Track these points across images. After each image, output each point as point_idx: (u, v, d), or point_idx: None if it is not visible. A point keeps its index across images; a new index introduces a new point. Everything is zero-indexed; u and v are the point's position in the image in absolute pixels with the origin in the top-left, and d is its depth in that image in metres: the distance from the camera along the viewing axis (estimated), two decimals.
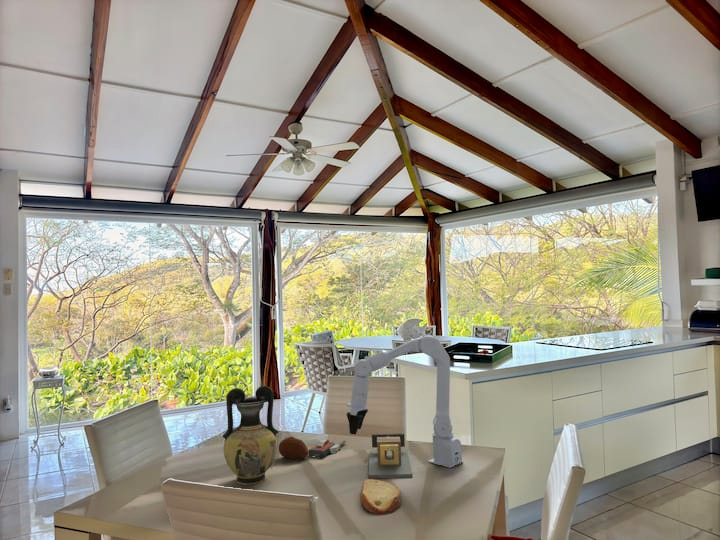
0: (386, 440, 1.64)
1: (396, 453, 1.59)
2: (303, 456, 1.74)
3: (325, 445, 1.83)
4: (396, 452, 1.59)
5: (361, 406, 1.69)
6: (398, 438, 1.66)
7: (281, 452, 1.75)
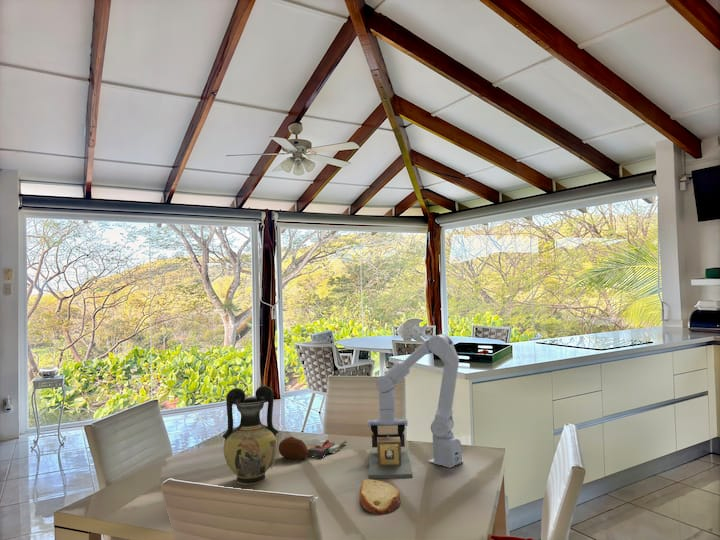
0: (386, 440, 1.64)
1: (396, 453, 1.59)
2: (303, 456, 1.74)
3: (324, 445, 1.83)
4: (396, 452, 1.59)
5: (381, 420, 1.74)
6: (398, 438, 1.66)
7: (281, 452, 1.75)
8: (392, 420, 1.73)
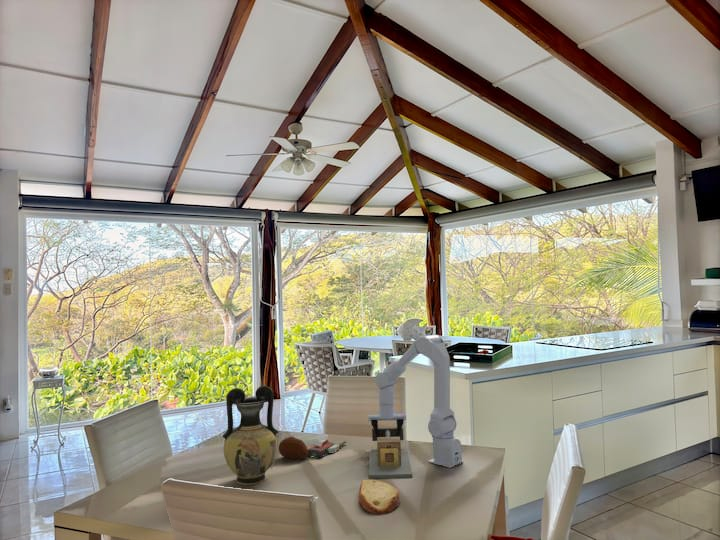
0: (386, 440, 1.64)
1: (396, 456, 1.61)
2: (303, 456, 1.74)
3: (324, 445, 1.83)
4: (396, 455, 1.61)
5: (380, 415, 1.82)
6: (398, 438, 1.66)
7: (281, 452, 1.75)
8: (391, 415, 1.82)
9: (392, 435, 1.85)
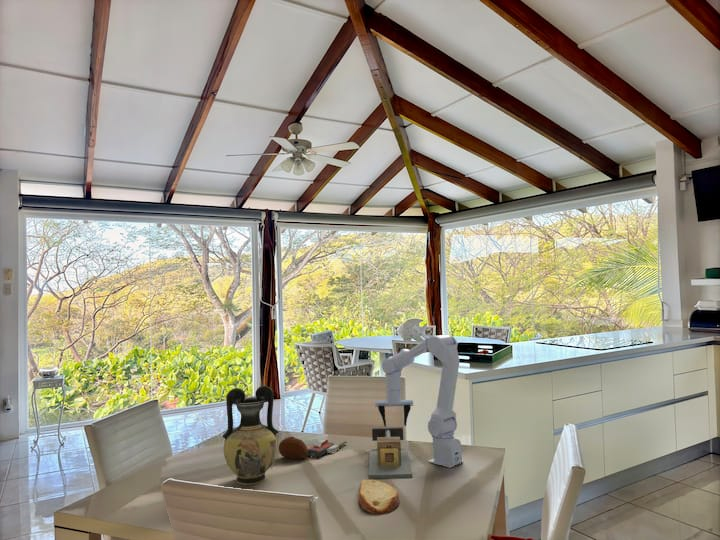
0: (386, 440, 1.64)
1: (396, 456, 1.61)
2: (303, 456, 1.74)
3: (323, 445, 1.83)
4: (396, 455, 1.61)
5: (388, 401, 1.82)
6: (398, 438, 1.66)
7: (281, 452, 1.75)
8: (398, 400, 1.82)
9: (392, 435, 1.85)
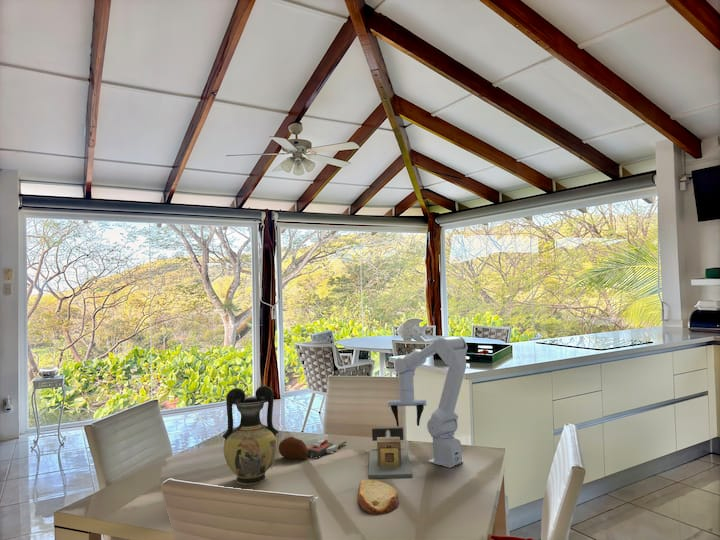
0: (386, 440, 1.64)
1: (396, 456, 1.61)
2: (303, 456, 1.74)
3: (322, 445, 1.83)
4: (396, 455, 1.61)
5: (400, 400, 1.81)
6: (398, 438, 1.66)
7: (281, 452, 1.75)
8: (411, 400, 1.80)
9: (392, 435, 1.85)
